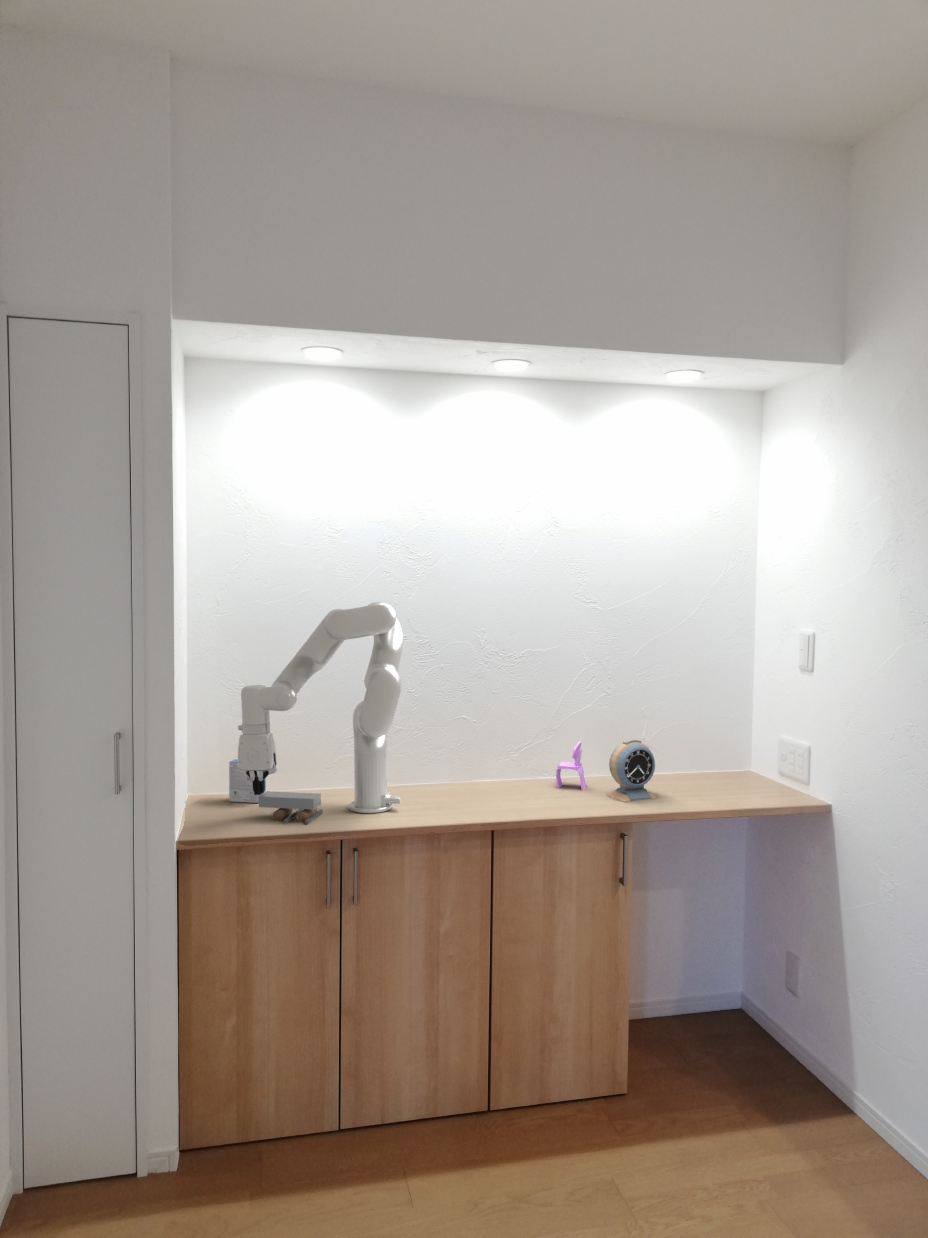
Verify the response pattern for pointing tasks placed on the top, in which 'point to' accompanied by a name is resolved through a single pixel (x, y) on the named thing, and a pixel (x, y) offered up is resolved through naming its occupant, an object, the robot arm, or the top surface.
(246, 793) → the ink cartridge box
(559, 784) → the toy chair
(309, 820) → the bar
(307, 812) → the roller
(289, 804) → the slab
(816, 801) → the top surface
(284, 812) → the roller
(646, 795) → the alarm clock
